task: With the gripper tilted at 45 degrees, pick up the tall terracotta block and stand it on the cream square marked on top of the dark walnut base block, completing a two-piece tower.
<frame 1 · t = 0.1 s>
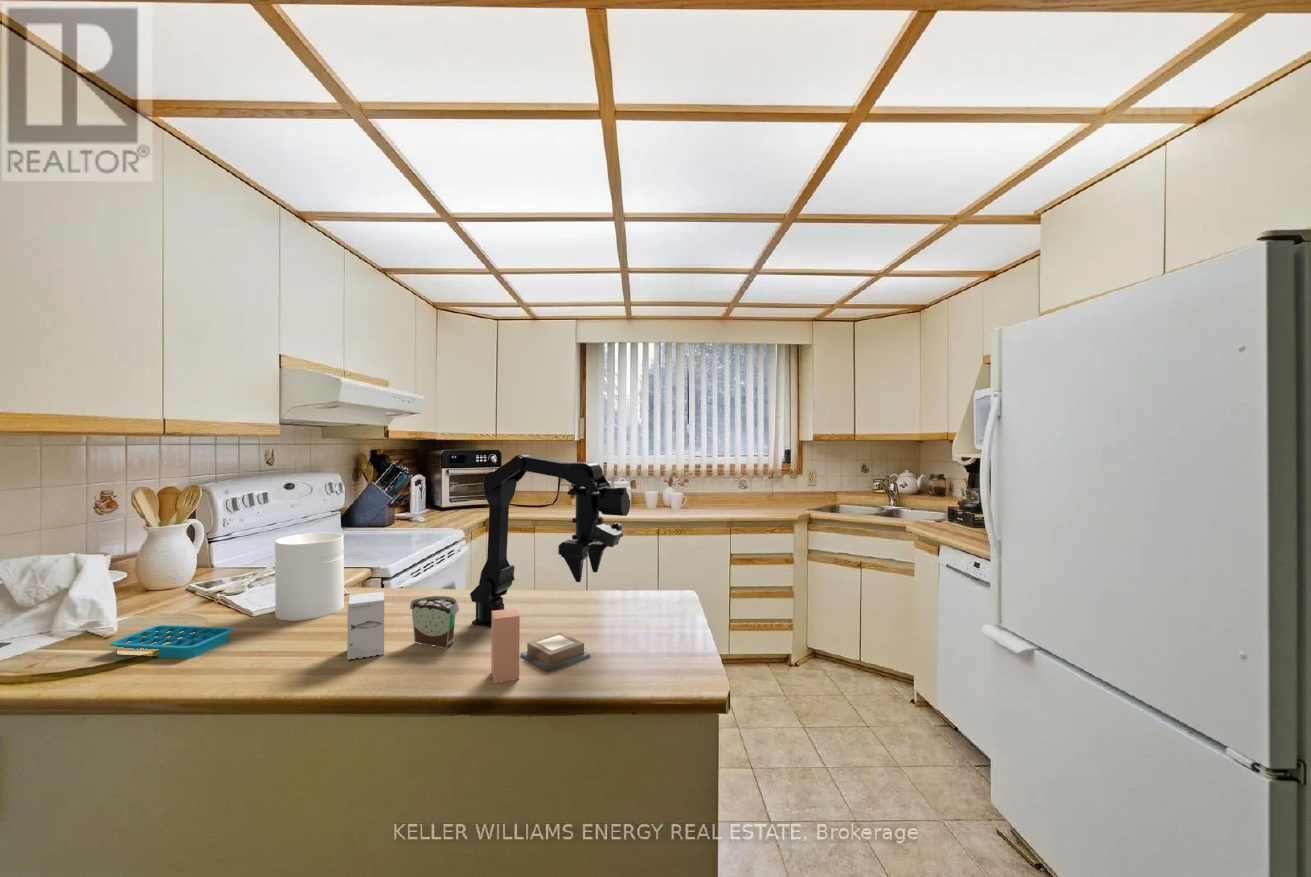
hand: (587, 577, 133), 15 cm above the countertop, tool pointing down, fingers open, 9 cm apart
supplement box: (366, 653, 123), on the countertop
ice cube tray: (174, 649, 124), on the countertop
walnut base: (555, 656, 122), on the countertop
terracotta block: (505, 676, 112), on the countertop
food container: (440, 642, 129), on the countertop
canister: (310, 611, 150), on the countertop
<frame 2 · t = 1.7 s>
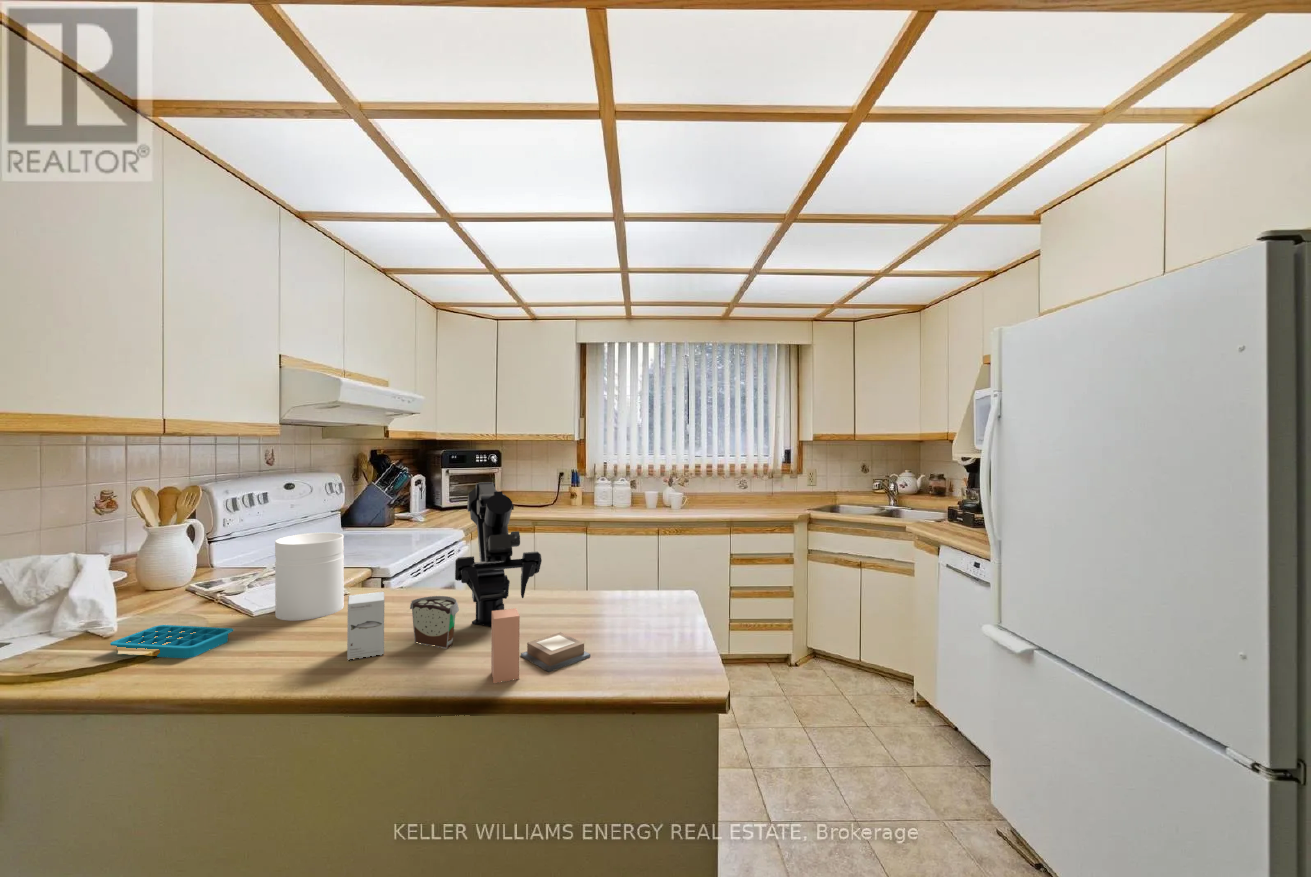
hand: (501, 599, 119), 13 cm above the countertop, tool tilted 45°, fingers open, 9 cm apart
nothing on the countertop moved.
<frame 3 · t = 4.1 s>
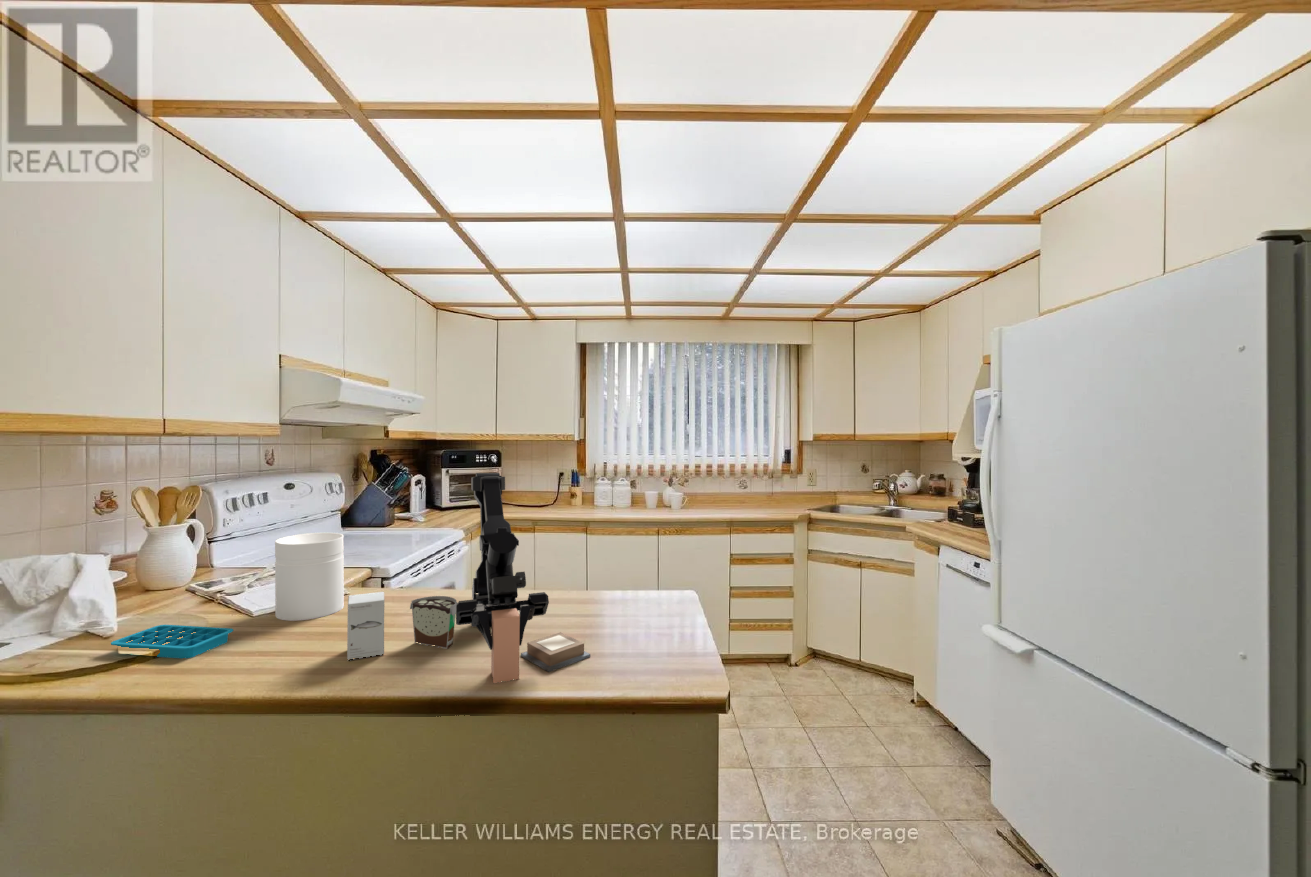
hand: (506, 646, 110), 7 cm above the countertop, tool tilted 45°, fingers closed on terracotta block, 5 cm apart
terracotta block: (505, 676, 112), on the countertop, touching gripper
everything else where it was.
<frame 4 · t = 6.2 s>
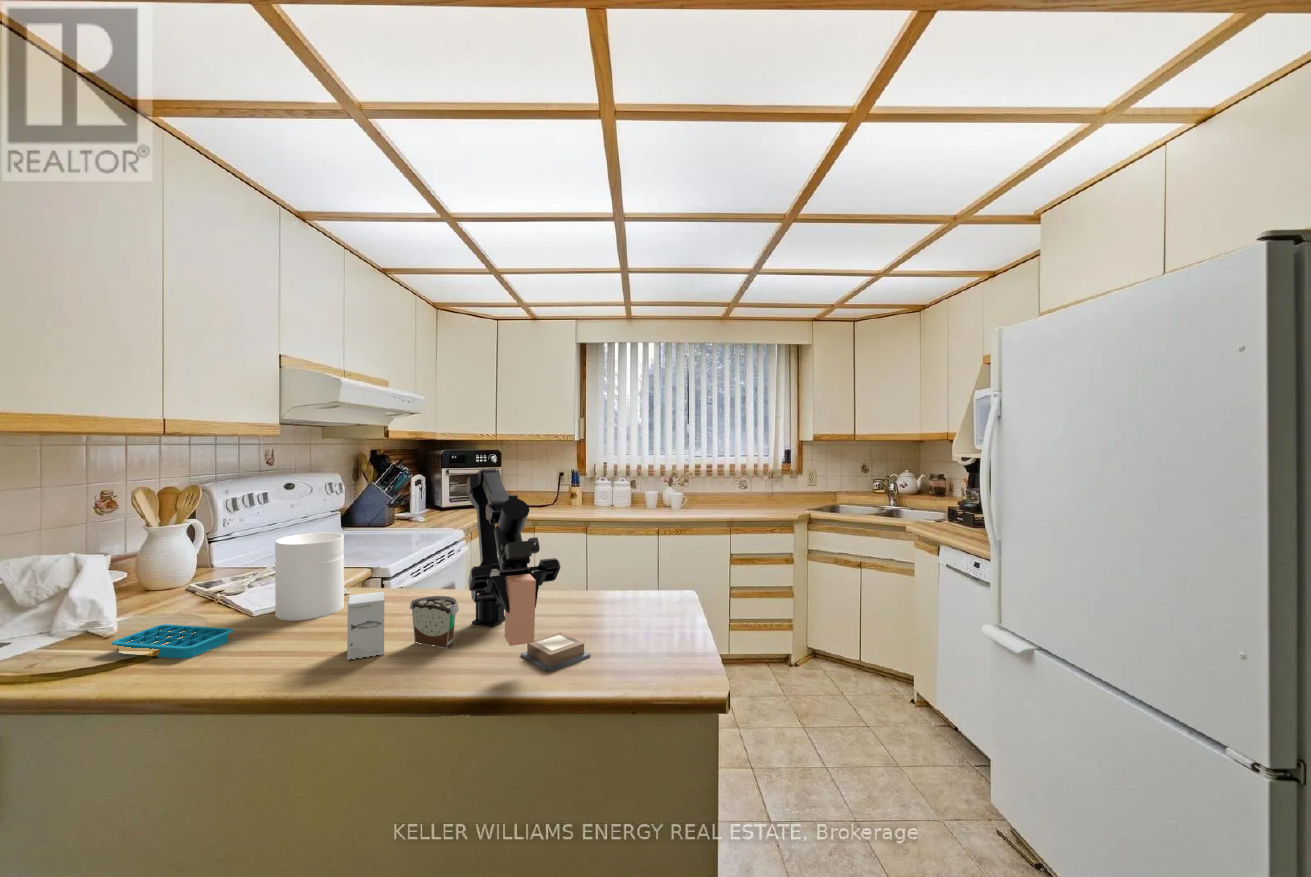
hand: (521, 610, 113), 13 cm above the countertop, tool tilted 45°, fingers closed on terracotta block, 5 cm apart
terracotta block: (519, 639, 114), point 7 cm above the countertop, touching gripper
everything else where it was.
when the fingers open (11 cm above the countertop, at t = 8.4 s): terracotta block drops 1 cm, resting on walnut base.
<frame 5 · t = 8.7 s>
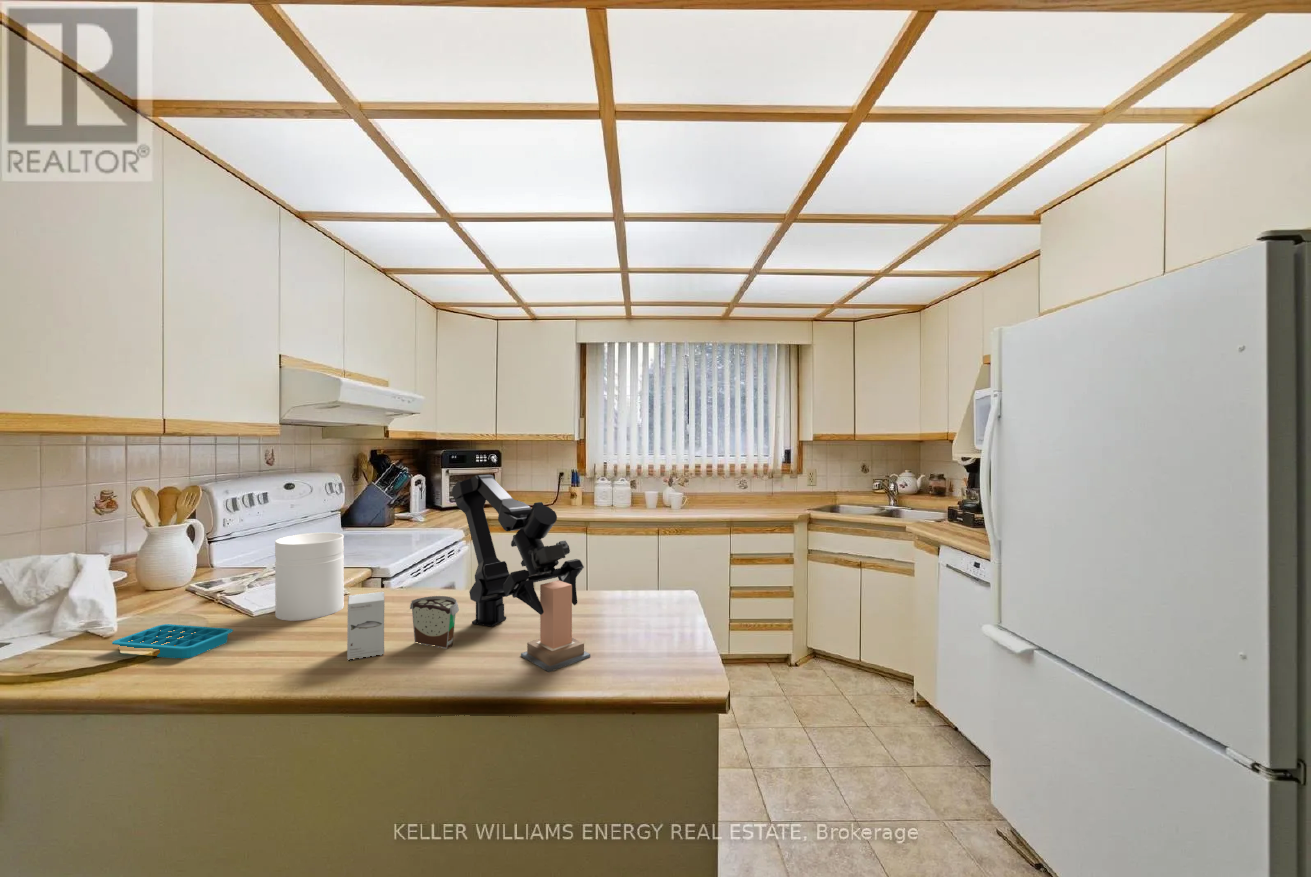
hand: (559, 608, 120), 11 cm above the countertop, tool tilted 45°, fingers open, 9 cm apart
terracotta block: (556, 642, 122), point 3 cm above the countertop, touching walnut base
everything else where it was.
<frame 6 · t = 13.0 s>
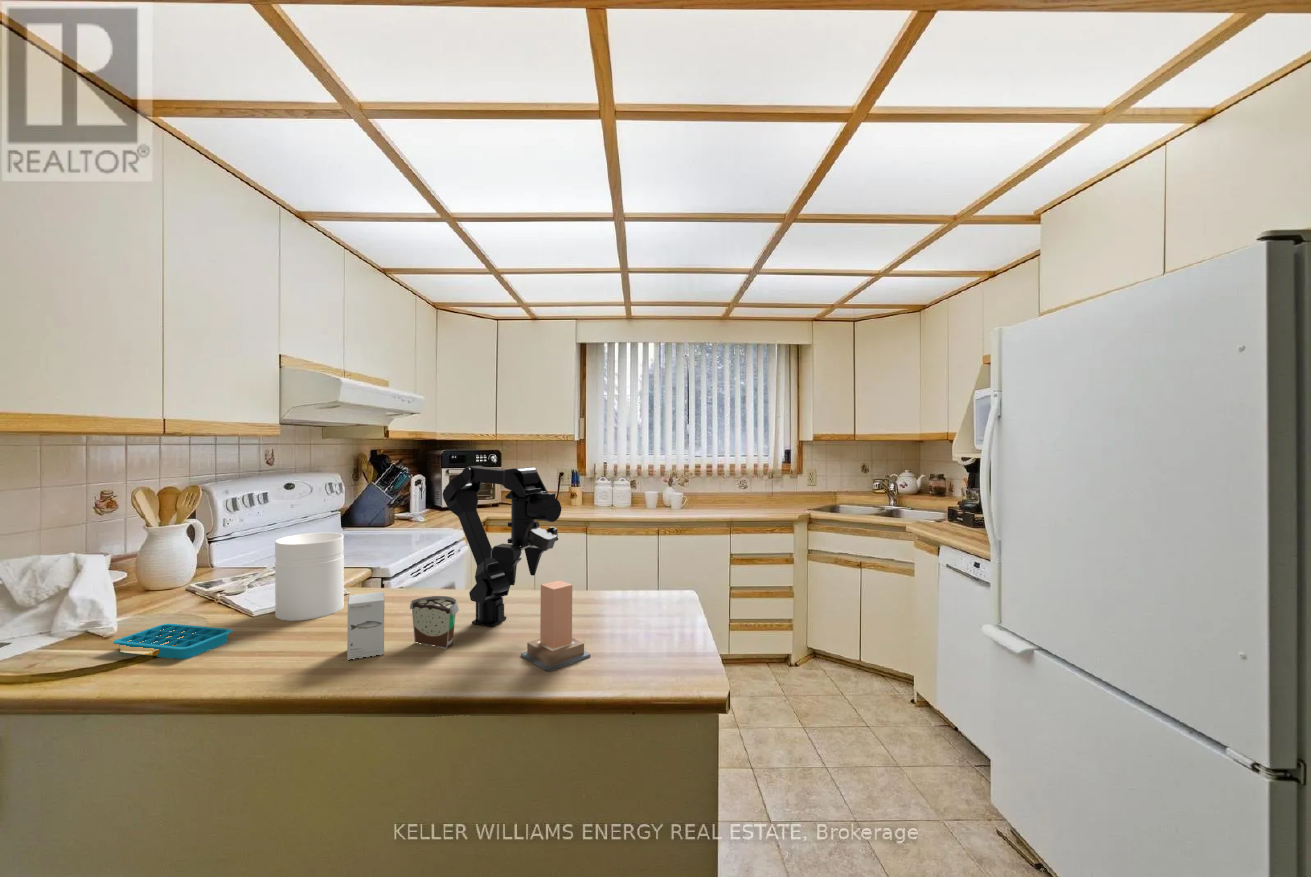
hand: (522, 580, 136), 13 cm above the countertop, tool pointing down, fingers open, 9 cm apart
nothing on the countertop moved.
at the end: terracotta block 0.1 cm off-centre on the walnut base, point 3.1 cm above the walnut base's base; terracotta block tilted 0°; the gripper is holding nothing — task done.
